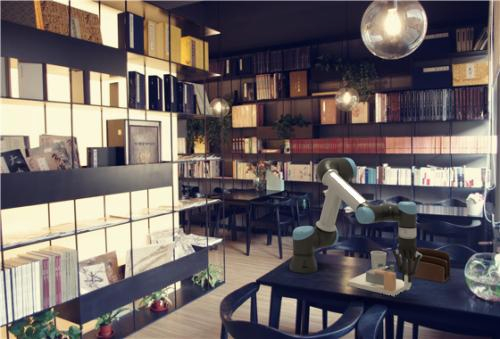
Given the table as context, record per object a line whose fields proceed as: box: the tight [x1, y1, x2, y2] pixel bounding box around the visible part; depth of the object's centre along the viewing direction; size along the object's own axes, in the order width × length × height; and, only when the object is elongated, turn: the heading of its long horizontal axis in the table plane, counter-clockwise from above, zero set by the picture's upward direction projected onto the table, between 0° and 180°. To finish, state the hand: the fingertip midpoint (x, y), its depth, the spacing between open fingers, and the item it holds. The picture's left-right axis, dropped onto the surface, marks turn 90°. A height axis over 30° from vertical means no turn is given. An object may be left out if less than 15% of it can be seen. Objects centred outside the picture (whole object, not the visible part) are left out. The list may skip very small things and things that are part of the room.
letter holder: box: [406, 247, 451, 284], centre depth 222 cm, size 10×20×14 cm, turn 49°
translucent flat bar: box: [369, 265, 389, 274], centre depth 209 cm, size 4×16×1 cm, turn 137°
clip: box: [374, 269, 397, 291], centre depth 199 cm, size 9×4×8 cm, turn 47°
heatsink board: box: [346, 263, 412, 297], centre depth 209 cm, size 24×19×9 cm
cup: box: [370, 250, 387, 269], centre depth 226 cm, size 8×8×12 cm
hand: (407, 289), depth 192 cm, fingers closed
